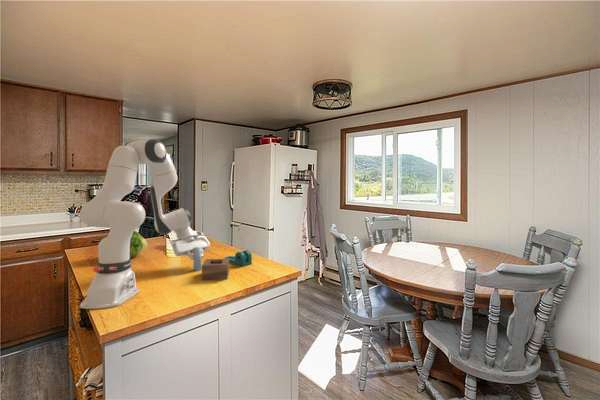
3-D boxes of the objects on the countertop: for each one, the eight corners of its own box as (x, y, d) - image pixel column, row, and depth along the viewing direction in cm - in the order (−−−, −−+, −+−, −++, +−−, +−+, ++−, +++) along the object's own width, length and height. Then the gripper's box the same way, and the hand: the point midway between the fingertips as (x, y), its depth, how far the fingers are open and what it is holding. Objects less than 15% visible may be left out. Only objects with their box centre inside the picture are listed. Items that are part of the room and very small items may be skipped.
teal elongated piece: (251, 264, 171) (251, 251, 171) (242, 267, 166) (242, 253, 165) (231, 259, 182) (231, 246, 182) (222, 261, 177) (222, 248, 176)
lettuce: (152, 258, 183) (153, 228, 186) (111, 260, 165) (113, 228, 167) (137, 257, 195) (138, 229, 197) (96, 260, 176) (98, 229, 178)
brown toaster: (227, 279, 145) (227, 265, 145) (201, 280, 143) (201, 265, 143) (229, 271, 157) (229, 258, 156) (205, 272, 155) (205, 259, 155)
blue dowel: (200, 270, 157) (200, 248, 157) (192, 271, 157) (192, 248, 156) (202, 268, 161) (201, 246, 161) (194, 268, 161) (194, 247, 160)
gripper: (171, 237, 154) (182, 258, 148) (205, 231, 170) (216, 251, 165) (167, 244, 156) (177, 266, 151) (200, 238, 173) (211, 257, 168)
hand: (198, 258), depth 158 cm, fingers closed on blue dowel, 4 cm apart
